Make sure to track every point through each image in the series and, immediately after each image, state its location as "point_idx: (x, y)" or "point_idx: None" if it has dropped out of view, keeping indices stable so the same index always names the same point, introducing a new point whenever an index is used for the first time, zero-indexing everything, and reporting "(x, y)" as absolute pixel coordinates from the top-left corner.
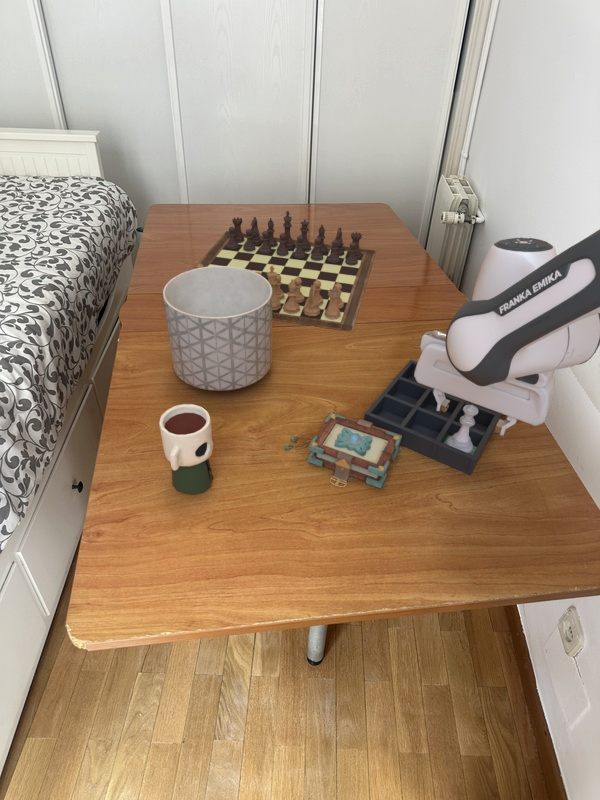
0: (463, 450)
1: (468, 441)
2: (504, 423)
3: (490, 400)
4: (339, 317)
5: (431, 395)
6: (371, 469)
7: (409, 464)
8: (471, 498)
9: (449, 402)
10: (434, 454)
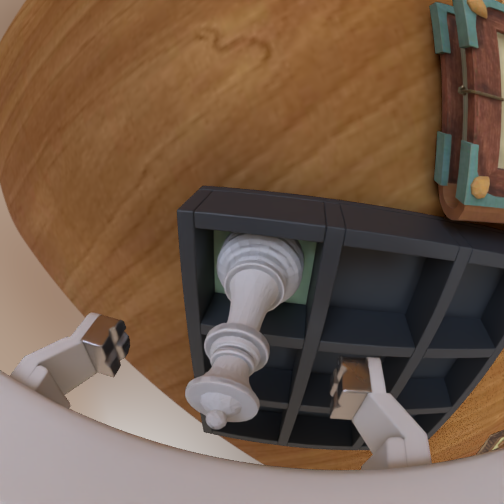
0: (236, 246)
1: (228, 283)
2: (78, 358)
3: (68, 471)
4: (500, 442)
5: None
6: (495, 2)
7: (389, 143)
8: (172, 100)
9: (331, 410)
10: (327, 205)
